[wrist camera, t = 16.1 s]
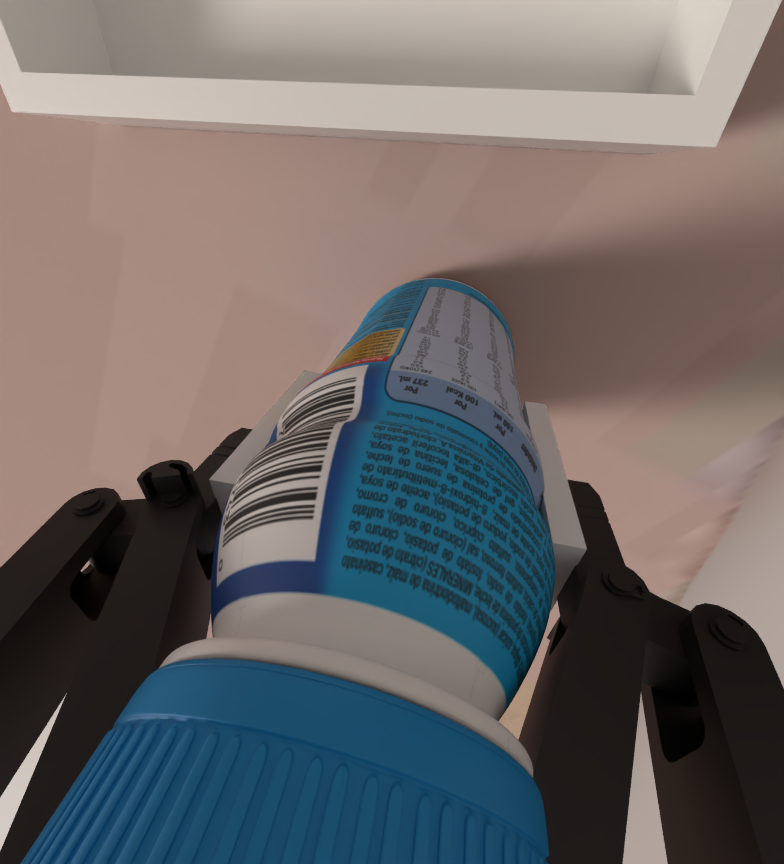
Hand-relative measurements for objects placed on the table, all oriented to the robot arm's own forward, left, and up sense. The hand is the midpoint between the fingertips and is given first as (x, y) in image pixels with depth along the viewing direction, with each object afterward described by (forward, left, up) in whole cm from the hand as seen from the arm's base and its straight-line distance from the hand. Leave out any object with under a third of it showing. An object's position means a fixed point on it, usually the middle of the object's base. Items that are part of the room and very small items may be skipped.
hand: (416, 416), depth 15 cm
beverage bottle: (0, 0, -6) cm, 6 cm away
